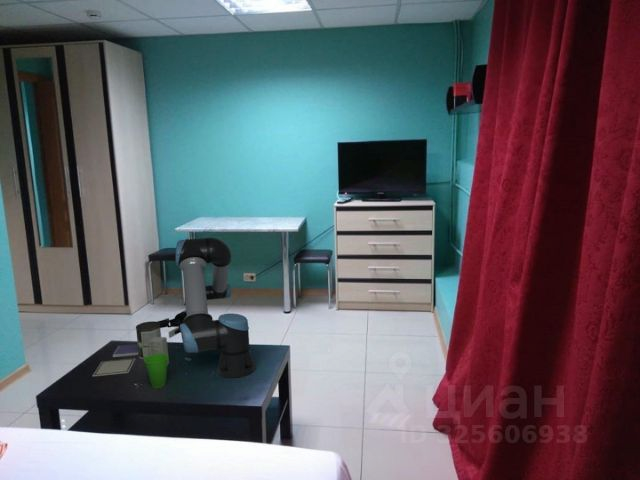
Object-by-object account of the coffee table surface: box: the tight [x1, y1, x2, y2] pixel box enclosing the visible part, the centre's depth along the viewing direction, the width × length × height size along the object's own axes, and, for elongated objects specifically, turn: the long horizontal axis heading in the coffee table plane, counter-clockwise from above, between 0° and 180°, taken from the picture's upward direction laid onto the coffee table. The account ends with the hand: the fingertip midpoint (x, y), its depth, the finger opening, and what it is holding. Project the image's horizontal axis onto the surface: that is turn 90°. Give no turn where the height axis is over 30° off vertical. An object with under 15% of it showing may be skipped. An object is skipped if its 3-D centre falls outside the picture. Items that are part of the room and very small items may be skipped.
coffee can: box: [135, 320, 162, 360], centre depth 207 cm, size 10×10×14 cm
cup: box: [143, 354, 170, 389], centre depth 179 cm, size 9×9×11 cm
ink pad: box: [112, 343, 139, 358], centre depth 213 cm, size 11×11×1 cm
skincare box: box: [149, 336, 170, 366], centre depth 196 cm, size 6×4×12 cm
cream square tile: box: [92, 357, 136, 377], centre depth 196 cm, size 14×14×1 cm
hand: (157, 333), depth 213 cm, fingers open, 13 cm apart
